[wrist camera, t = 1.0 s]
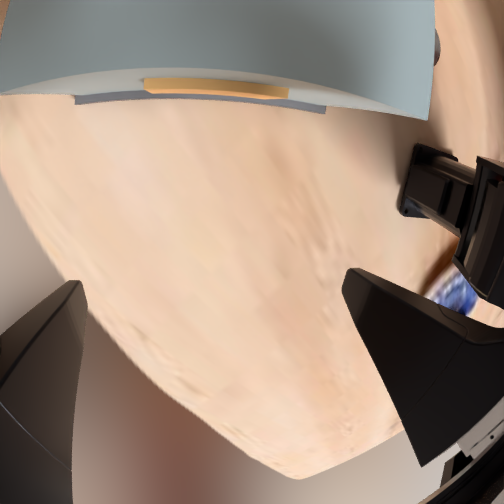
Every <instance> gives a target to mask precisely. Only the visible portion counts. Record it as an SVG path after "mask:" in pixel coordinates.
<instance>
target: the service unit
mask: <svg viewBox="0 0 504 504" xmlns="http://www.w3.org/2000/svg"><path fill="white" fill-rule="evenodd" d="M434 48H435V7H434V0H10V3H9V6H8V10H7V13H6V17H5V21H4V25H3V29H2V34H1V39H0V95H12V94H65V95H75V105H81V104H89V103H98V102H109V101H122V100H140V99H201V100H220V101H233V102H244V103H254V104H263V105H271V106H278V107H285V108H291V109H297V110H303V111H309V112H314V113H320V114H325V111H326V106H335V107H346V108H355V109H363V110H371V111H378V112H384V113H390V114H396V115H402V116H407V117H412V118H417V119H422V120H426V121H427V120H428V113H429V106H430V98H431V89H432V79H433V67H434Z"/></svg>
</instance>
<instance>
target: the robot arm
mask: <svg viewBox="0 0 504 504" xmlns="http://www.w3.org/2000/svg"><path fill="white" fill-rule="evenodd" d="M419 148H420V150H419ZM476 163H477V166H476V169H473V168H471V167H469V166H466V165H464V164H461V163H459V162H458V158H457V157H455V156H452V155H450V154H447V153H444V152H442V151H439V150H436V149H434V148H431V147H428V146H425V145H423V144H419V143H417V144H416V145H415V147H414V151H413V156H412V160H411V165H410V170H409V174H408V178H407V183H406V187H405V191H404V195H403V198H402V202H401V206H400V210H399V212H400V214H401V215H403V216H405V217H416V218H427V219H432V220H433V221H435V222H436V223H438V224H440V225H441V226H443V227H444V228H446V229H447V230H449V231H450V232H452V233H453V234H455V235H456V236H458V237H459V238H460V239H459V243H458V246H457V249H456V252H455V254H454V255H453V258H452V262H453V263H454V264H455V266H456V267H457V268H458V269H459V271H460V272H461V273H462V275H463V276H464V277H465V279H466V280H467V281H468V283H469V284H470V285H471V287H472V288H473V290H474V291H475V292H476V293H477V295H478V296H479V297H480V298H482V299H484V300H485V301H487V302H489V303H491V304H494V305H496V306H498V307H500V308H502V309H503V310H504V163H503V162H500V161H496V160H492V159H489V158H485V157H481V156H477V159H476ZM342 294H343V297H344V299H345V302H346V304H347V307H348V309H349V312H350V314H351V316H352V319H353V321H354V324H355V326H356V328H357V330H358V332H359V334H360V336H361V338H362V340H363V342H364V344H365V346H366V348H367V350H368V352H369V354H370V356H371V358H372V360H373V362H374V364H375V366H376V368H377V370H378V372H379V374H380V376H381V378H382V380H383V382H384V384H385V387H386V389H387V391H388V393H389V395H390V397H391V399H392V401H393V404H394V406H395V408H396V410H397V412H398V415H399V417H400V419H401V420H402V421H401V422H402V424H403V426H404V428H405V431H406V433H407V435H408V438H409V440H410V442H411V445H412V447H413V449H414V452H415V454H416V457H417V459H418V462H419V464H420V466H421V467H423V466H425V465H427V464H428V463H429V462H431V461H432V460H434V459H435V458H437V457H438V456H440V455H441V454H442V453H444V452H445V451H446V450H448V449H449V448H451V447H452V446H453V445H455V444H456V443H458V445H459V447H460V448H461V451H459V452H458V453H457V454H456V455H455V456H453V457H452V458H451V459H449V460H448V461H447V462H445V466H444V471H443V476H442V480H441V485H440V488H439V489H438V490H437V491H435V492H434V493H432V494H431V495H429V496H428V497H427V498H425V499H424V500H423V501H421V502H419V503H418V504H504V328H495V327H491V326H488V325H486V324H484V323H481V322H479V321H476V320H474V319H472V318H469V317H467V316H464V315H462V314H460V313H457V312H455V311H453V310H451V309H449V308H446V307H444V306H442V305H440V304H437V303H436V302H433V301H431V300H429V299H427V298H425V297H423V296H421V295H418V294H416V293H414V292H412V291H410V290H407V289H405V288H403V287H401V286H399V285H396V284H394V283H392V282H390V281H388V280H385V279H383V278H381V277H379V276H376V275H374V274H372V273H370V272H367V271H365V270H363V269H360V268H350V269H348V270H347V272H346V275H345V279H344V282H343V285H342ZM87 308H88V305H87V300H86V296H85V292H84V288H83V285H82V282H81V281H80V280H69V281H67V282H66V283H65V284H64V285H62V286H61V287H59V288H58V289H57V290H55V291H54V292H53V293H52V294H50V295H49V296H48V297H46V298H45V299H44V300H43V301H41V302H40V303H39V304H37V305H36V306H35V307H34V308H32V309H31V310H30V311H29V312H28V313H26V314H25V315H24V316H23V317H21V318H20V319H19V320H18V321H17V322H15V323H14V324H13V325H12V326H11V327H10V328H8V329H7V330H6V331H5V332H4V333H3V334H1V335H0V504H73V499H72V471H71V470H72V437H73V423H74V411H75V401H76V393H77V385H78V379H79V372H80V366H81V360H82V354H83V348H84V337H85V326H86V317H87Z"/></svg>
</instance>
